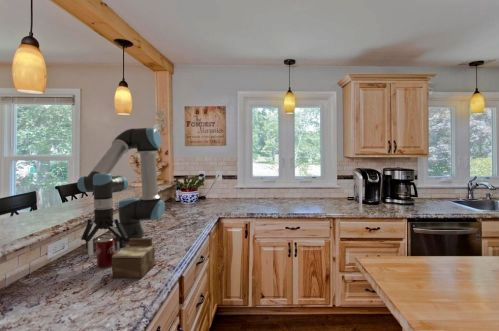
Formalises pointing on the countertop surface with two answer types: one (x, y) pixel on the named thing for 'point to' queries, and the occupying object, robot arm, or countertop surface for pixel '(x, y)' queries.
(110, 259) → the soda can
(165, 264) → the countertop surface
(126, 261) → the box
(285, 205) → the countertop surface
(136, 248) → the lid
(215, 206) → the countertop surface
